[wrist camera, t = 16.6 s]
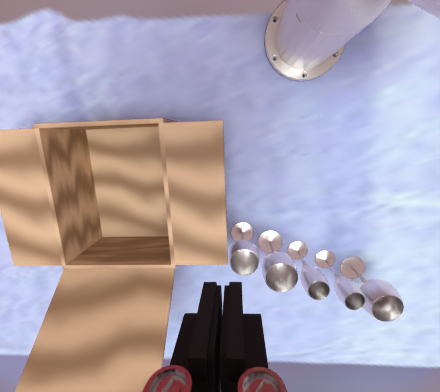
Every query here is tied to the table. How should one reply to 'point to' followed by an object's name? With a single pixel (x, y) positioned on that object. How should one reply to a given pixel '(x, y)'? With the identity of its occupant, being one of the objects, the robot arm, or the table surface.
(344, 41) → the robot arm
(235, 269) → the goblet set
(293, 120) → the table surface
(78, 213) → the carton
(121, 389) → the lid flap
